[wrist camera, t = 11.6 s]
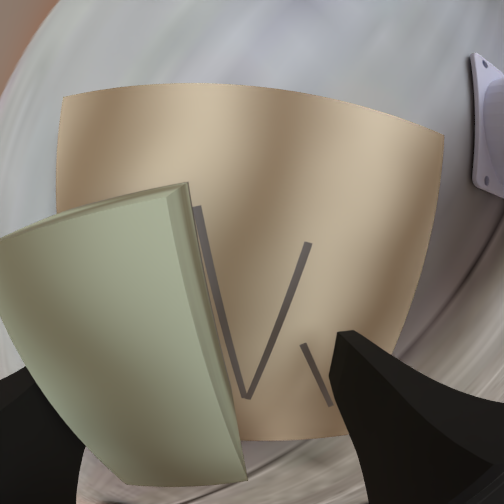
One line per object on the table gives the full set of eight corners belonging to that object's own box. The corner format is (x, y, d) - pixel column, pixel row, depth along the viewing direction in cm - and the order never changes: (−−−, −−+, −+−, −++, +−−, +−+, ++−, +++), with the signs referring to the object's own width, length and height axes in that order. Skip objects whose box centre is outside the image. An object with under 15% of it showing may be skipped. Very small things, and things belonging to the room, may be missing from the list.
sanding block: (188, 181, 8) (165, 196, 4) (231, 387, 11) (248, 480, 7) (69, 209, 8) (-23, 250, 3) (139, 397, 11) (126, 484, 6)
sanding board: (423, 136, 9) (444, 135, 8) (343, 417, 15) (348, 434, 13) (82, 102, 9) (63, 97, 7) (113, 402, 14) (106, 418, 12)
